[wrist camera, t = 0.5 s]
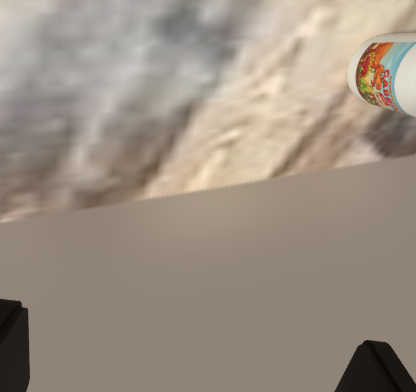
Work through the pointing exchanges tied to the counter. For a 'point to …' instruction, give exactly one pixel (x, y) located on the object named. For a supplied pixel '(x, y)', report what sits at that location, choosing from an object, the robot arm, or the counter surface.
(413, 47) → the milk bottle
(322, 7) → the counter surface
